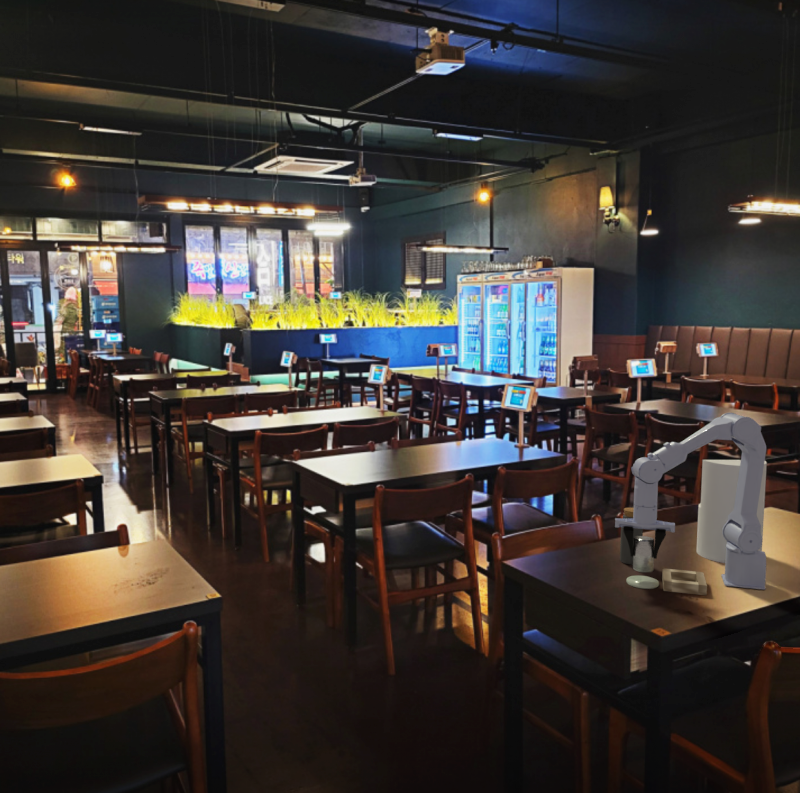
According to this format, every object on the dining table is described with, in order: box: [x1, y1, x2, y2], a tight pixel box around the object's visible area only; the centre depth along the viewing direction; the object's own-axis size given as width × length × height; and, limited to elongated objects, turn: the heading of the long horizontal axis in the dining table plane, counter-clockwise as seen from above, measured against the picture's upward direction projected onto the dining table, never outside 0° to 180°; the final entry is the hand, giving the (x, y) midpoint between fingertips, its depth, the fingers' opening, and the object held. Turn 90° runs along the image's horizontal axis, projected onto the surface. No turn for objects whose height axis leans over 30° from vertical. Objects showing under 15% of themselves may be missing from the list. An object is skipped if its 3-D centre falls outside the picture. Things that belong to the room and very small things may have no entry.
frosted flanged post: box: [632, 535, 655, 573], centre depth 188 cm, size 5×5×8 cm
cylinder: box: [696, 459, 768, 564], centre depth 210 cm, size 17×17×28 cm
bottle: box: [619, 507, 644, 566], centre depth 205 cm, size 6×6×15 cm
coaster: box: [626, 575, 660, 590], centre depth 188 cm, size 8×8×1 cm
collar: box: [661, 568, 708, 596], centre depth 186 cm, size 10×10×2 cm
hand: (643, 556), depth 188 cm, fingers closed on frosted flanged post, 5 cm apart
